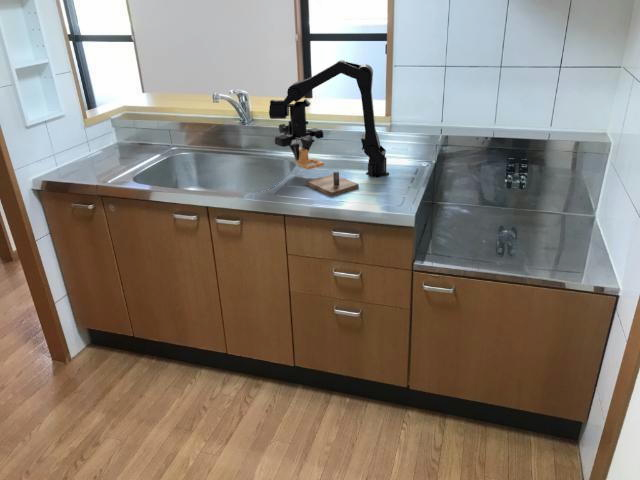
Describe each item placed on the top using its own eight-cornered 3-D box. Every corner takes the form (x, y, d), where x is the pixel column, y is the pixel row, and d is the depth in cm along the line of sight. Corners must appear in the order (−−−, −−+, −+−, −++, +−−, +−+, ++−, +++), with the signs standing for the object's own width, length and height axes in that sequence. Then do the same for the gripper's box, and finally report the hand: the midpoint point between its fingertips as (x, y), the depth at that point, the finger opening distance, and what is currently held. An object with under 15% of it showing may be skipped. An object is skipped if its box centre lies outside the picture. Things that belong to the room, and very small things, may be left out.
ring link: (323, 165, 192) (323, 152, 190) (308, 169, 189) (307, 156, 187) (305, 158, 201) (304, 146, 199) (290, 162, 198) (289, 149, 196)
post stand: (358, 188, 183) (358, 171, 180) (331, 196, 177) (330, 179, 174) (333, 177, 194) (332, 162, 191) (306, 185, 188) (306, 169, 185)
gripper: (306, 111, 201) (309, 150, 208) (265, 119, 192) (269, 159, 199) (323, 115, 193) (325, 155, 200) (281, 124, 184) (284, 166, 191)
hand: (300, 159), depth 198 cm, fingers closed on ring link, 3 cm apart
